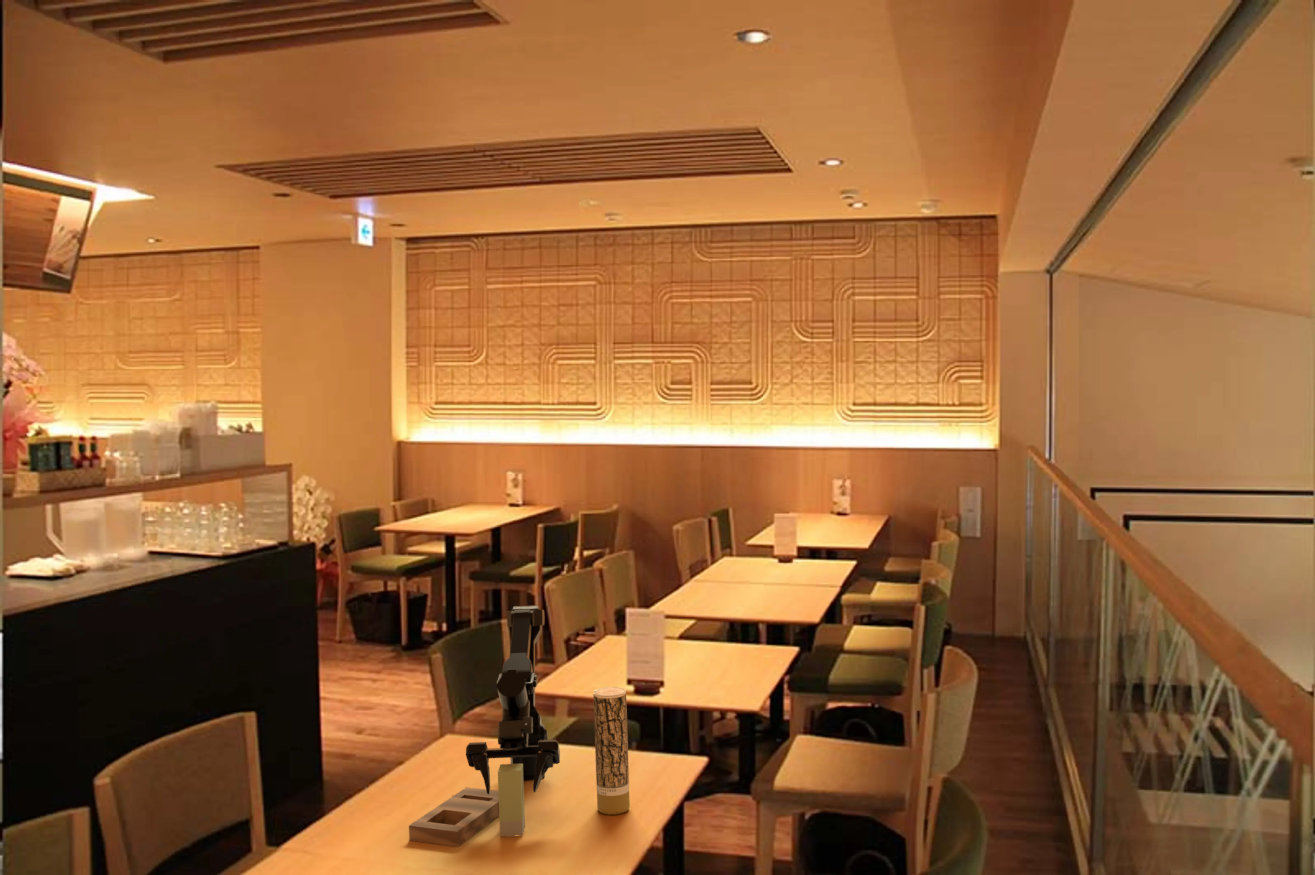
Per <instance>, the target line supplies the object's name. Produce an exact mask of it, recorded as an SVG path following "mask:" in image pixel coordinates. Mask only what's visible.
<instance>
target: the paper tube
mask: <svg viewBox="0 0 1315 875" xmlns="http://www.w3.org/2000/svg"><path fill="white" fill-rule="evenodd" d="M626 691H627V690H626V689H625V688H622V687H617V686H611V687H610V686H609V687H608V686H607V687H602V688H601V687H600V688H597V689H595V690H593V718H594V719H593V721H594V722H593V723H594V746H595V748H594V750H595V777H596V778H595V780H596V783H595V784H596V801H597V802H596V805H597V807H596V808H597V810H598V811H599V812H600V813H602V814H604V815H620V814H623V813H626V812H627V811H628V810H629V808H630V806H631V804H630V802H631V801H630V775H629V774H630V773H629V770H630V769H629V742H628V740H629V739H628V712H627V710H628V709H627V692H626Z"/></svg>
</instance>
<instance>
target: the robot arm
mask: <svg viewBox="0 0 1315 875" xmlns="http://www.w3.org/2000/svg"><path fill="white" fill-rule="evenodd" d="M545 619H546V618H545V610H544V609H540V606H539V605H514V606H513V607H512V609H510V610H507V611H506V627H509V628H510V632H511V636H510V638H511V639H510V648H509V649H510V651H509V657H508V658H507V659H506V660H505V661H504V662H503V664H502V669H501V670H502V671H501V673H499V674H498V678H497V681H496V691H497V693H498V698H499V702H500V706H501V707H502V708H501V720H499V721H498V722H497V724H498V725H497V726H498V728H497V730H498V731H497V743H498V745H499V747H496V748H491V747H490V748H488V746H487V741H484V742H483V741H480V742H479V741H478V742H477V741H476V742H474V741H473V742H469V743H468V744H467V745H466V747H465V748H466V749H465V757H466V760H467V764H468V766H469V767H471V768H474V770H475V771H480V773H481V776H482V778H483V781H484V782H483V783H484V785H485V789H486V791H487V794H490V790H491V774H490V773H491V772H490V769H491V768H490V765H489V759H504V758H506V759H509V760H510V764H523V781H529V780H533V784H532V788H533V789H532V791H533V793H536V792H537V791H538V788H539V786H540V784H541V782H542V779H543V778H545V776H546V773H547V771H548V769H550V768H551V769H552V768H553V767H554V765H558V764H560V762H561V751H560V750H561V749H560V745H559V741H558V740H557V739H549V738H548V736H549V735H548V730H547V729H546V727H545V724H543V722H542V721H543V720H542V717H541V715H540V713H539V712H538V710H537V708H536V688H537V686H538V684H539V677H538V676H537V673H536V643H537V642H538V640H539V639H540V637H541V636H542V634H543V632H542V631H543V629H542V628H543V626H545Z"/></svg>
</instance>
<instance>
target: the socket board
mask: <svg viewBox="0 0 1315 875" xmlns="http://www.w3.org/2000/svg"><path fill="white" fill-rule="evenodd" d="M498 817H499V793H498V790H495V789H490V794H487V791H486V788H478V787H477V788H476V787H467V786H466V787H465V788H463V789H461V790H460V791H458V792H457V793H456V794H454V795H452V796H451V797H450V798H448V799H446V800H444V801H443V802H442V803H441V804H439V805H437V806H436V807H434V808H433V809H431V810H429V811H428V812H427V813H426V814H424V815H423V816H421V817H419V818H418V819H417V820H414V821H413V822H412V823H410V824H409V825H408V835H409V836H408V839H409V841H411V842H419V843H426V844H434V845H439V846H448V847H449V846H450V847H456V848H458V847H460V846H462V844H464V843H465V842H466V841H468V840H470V839H471V838H472V837H473V836H475V835H476V834H477V833H478V832H480V831H482V830H483V829H484V828H485V827H486V826H488V825H489V824H491V822H493V821H495V820H496V819H497V818H498Z"/></svg>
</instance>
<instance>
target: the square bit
mask: <svg viewBox="0 0 1315 875" xmlns="http://www.w3.org/2000/svg"><path fill="white" fill-rule="evenodd" d="M524 781H525V780H523V764H511V763H505V764H504V763H503V764H500V765H499V767H498V770H497V784H498V786H497V789H498V790H497V791H498V793H499V816H498V817H499V837H500V836H506V837H516V836H515V835H523V836H524V833H523V832H525V830H524V829H526V816H525V815H526V813H525V786H524Z"/></svg>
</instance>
